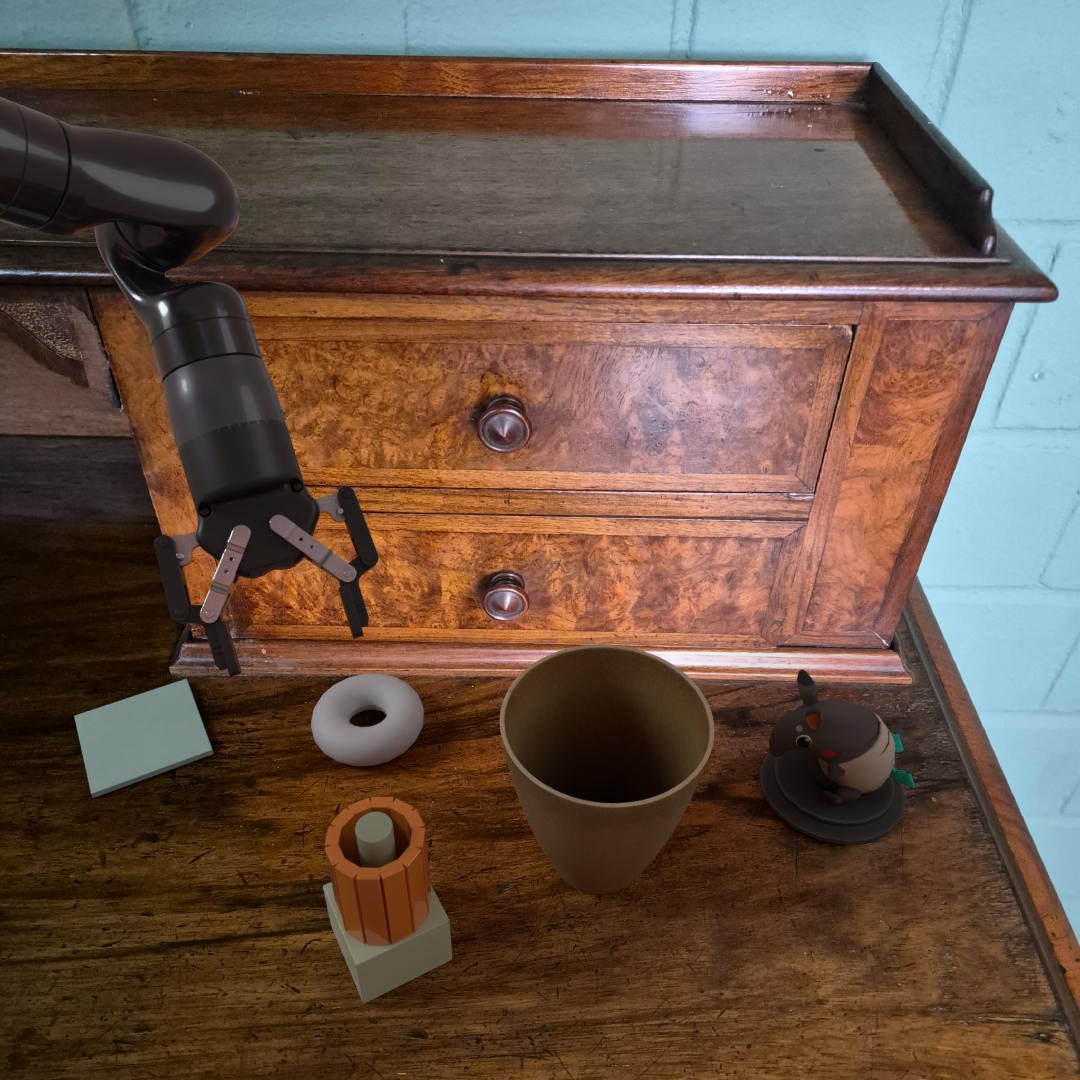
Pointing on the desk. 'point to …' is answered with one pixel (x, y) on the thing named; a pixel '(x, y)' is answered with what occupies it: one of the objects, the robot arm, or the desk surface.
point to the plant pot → (604, 758)
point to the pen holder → (380, 875)
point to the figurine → (834, 770)
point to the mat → (141, 737)
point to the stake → (394, 962)
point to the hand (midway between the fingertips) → (298, 655)
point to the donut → (375, 740)
